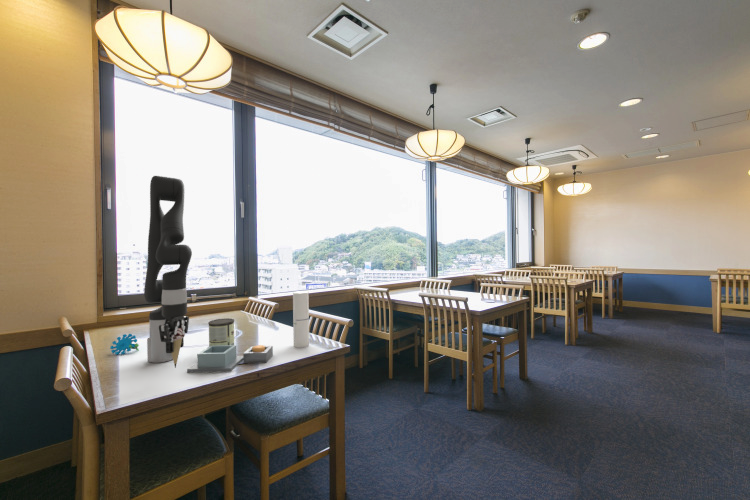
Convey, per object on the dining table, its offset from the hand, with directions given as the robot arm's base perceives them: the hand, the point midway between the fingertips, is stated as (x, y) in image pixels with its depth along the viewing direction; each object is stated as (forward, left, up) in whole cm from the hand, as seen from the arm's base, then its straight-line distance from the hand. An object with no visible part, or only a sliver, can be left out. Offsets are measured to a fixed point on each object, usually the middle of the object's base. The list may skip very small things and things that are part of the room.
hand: (175, 349), depth 112 cm
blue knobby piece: (-41, +32, -11) cm, 53 cm away
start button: (+22, +20, -9) cm, 31 cm away
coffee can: (+3, +29, -11) cm, 31 cm away
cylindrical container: (+36, +38, -11) cm, 54 cm away
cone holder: (+8, +14, -11) cm, 19 cm away
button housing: (+22, +20, -11) cm, 32 cm away
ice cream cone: (0, 0, -7) cm, 7 cm away
